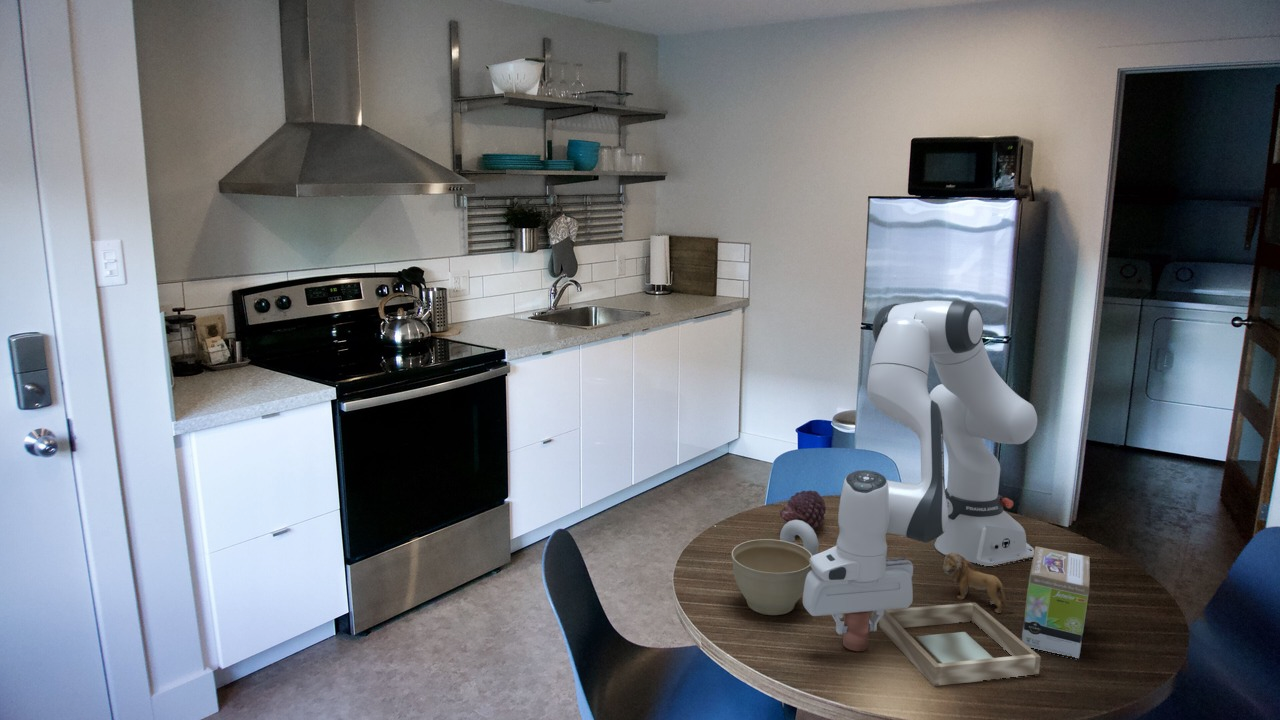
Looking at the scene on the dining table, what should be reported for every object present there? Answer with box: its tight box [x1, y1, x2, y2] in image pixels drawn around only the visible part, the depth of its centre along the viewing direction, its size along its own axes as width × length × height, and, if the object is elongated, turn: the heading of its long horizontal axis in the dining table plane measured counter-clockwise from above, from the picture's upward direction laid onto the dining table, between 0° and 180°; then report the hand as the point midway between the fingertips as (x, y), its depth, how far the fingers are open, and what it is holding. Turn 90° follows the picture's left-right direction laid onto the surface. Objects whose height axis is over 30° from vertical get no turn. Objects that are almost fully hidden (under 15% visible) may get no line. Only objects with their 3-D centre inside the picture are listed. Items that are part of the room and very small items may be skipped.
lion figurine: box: [942, 553, 1015, 614], centre depth 172 cm, size 15×5×9 cm, turn 50°
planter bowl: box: [731, 538, 812, 616], centre depth 169 cm, size 16×16×11 cm
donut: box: [779, 520, 820, 556], centre depth 189 cm, size 10×4×10 cm, turn 41°
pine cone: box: [779, 490, 827, 531], centre depth 208 cm, size 18×10×10 cm, turn 141°
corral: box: [879, 601, 1042, 687], centre depth 154 cm, size 20×20×4 cm
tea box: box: [1021, 546, 1091, 659], centre depth 158 cm, size 15×10×15 cm, turn 152°
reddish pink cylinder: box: [842, 611, 871, 652], centre depth 154 cm, size 4×4×7 cm
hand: (855, 631), depth 154 cm, fingers closed on reddish pink cylinder, 4 cm apart
